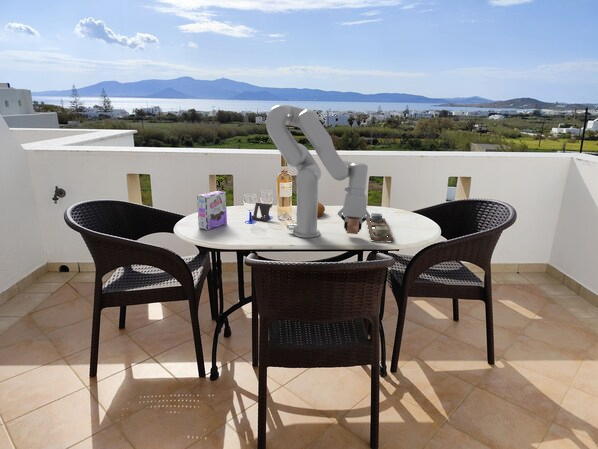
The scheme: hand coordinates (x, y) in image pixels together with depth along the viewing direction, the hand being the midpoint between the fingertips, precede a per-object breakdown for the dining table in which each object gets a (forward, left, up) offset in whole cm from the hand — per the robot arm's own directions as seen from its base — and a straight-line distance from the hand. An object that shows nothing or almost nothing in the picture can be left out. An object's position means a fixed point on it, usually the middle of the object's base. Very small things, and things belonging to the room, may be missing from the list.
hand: (352, 230), depth 178 cm
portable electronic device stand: (-46, +24, -4) cm, 52 cm away
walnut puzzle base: (+13, +12, -4) cm, 18 cm away
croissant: (-21, +38, -4) cm, 43 cm away
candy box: (-67, +7, -4) cm, 67 cm away
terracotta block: (0, 0, -1) cm, 1 cm away
